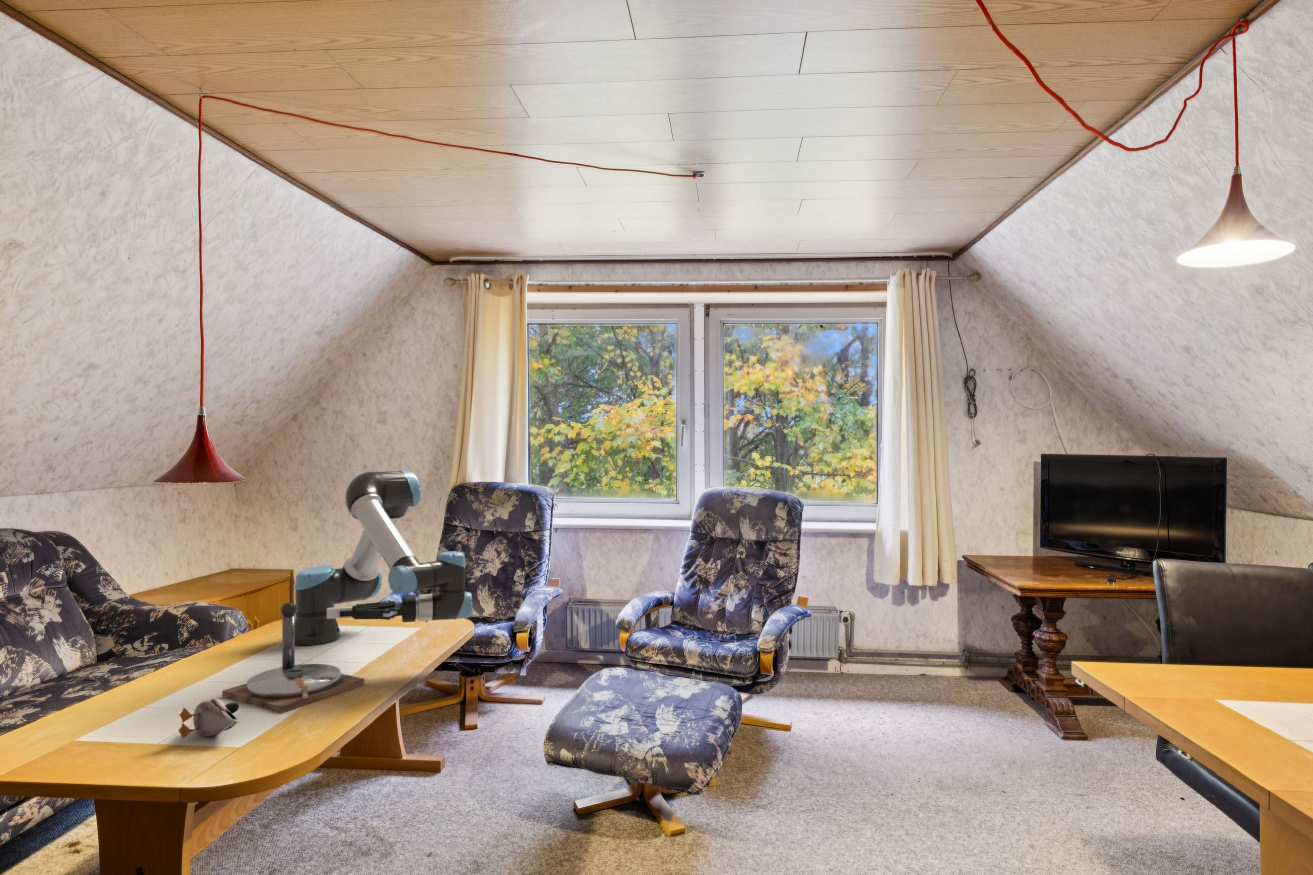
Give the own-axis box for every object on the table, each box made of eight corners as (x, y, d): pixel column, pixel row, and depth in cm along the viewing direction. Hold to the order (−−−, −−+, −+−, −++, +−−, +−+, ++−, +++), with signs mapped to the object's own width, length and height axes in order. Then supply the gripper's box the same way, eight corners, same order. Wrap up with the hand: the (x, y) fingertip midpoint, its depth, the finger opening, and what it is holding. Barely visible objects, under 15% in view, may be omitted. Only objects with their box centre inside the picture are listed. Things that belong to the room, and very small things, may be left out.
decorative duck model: (226, 688, 177) (276, 692, 172) (224, 721, 176) (275, 726, 172) (168, 703, 162) (221, 708, 158) (165, 739, 162) (219, 745, 157)
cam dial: (349, 686, 192) (349, 611, 192) (253, 704, 179) (253, 623, 179) (329, 664, 210) (330, 596, 211) (241, 678, 198) (241, 606, 198)
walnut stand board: (222, 696, 190) (222, 678, 190) (306, 670, 211) (306, 654, 211) (281, 712, 178) (281, 694, 178) (364, 684, 199) (364, 667, 199)
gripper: (416, 627, 207) (324, 633, 199) (415, 615, 219) (328, 621, 211) (417, 600, 207) (324, 605, 199) (416, 590, 219) (329, 594, 211)
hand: (327, 613), depth 205 cm, fingers closed
